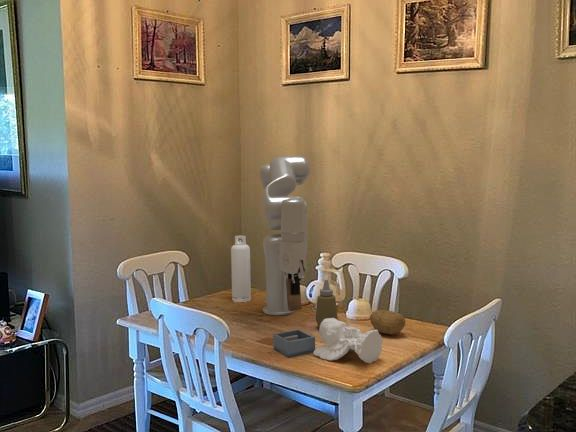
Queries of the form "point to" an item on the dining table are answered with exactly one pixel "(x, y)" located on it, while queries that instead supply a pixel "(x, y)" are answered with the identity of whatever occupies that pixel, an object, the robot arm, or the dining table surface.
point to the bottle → (240, 270)
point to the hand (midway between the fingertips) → (293, 293)
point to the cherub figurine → (347, 341)
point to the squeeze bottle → (325, 304)
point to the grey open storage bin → (293, 343)
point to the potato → (387, 321)
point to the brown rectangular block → (292, 298)
